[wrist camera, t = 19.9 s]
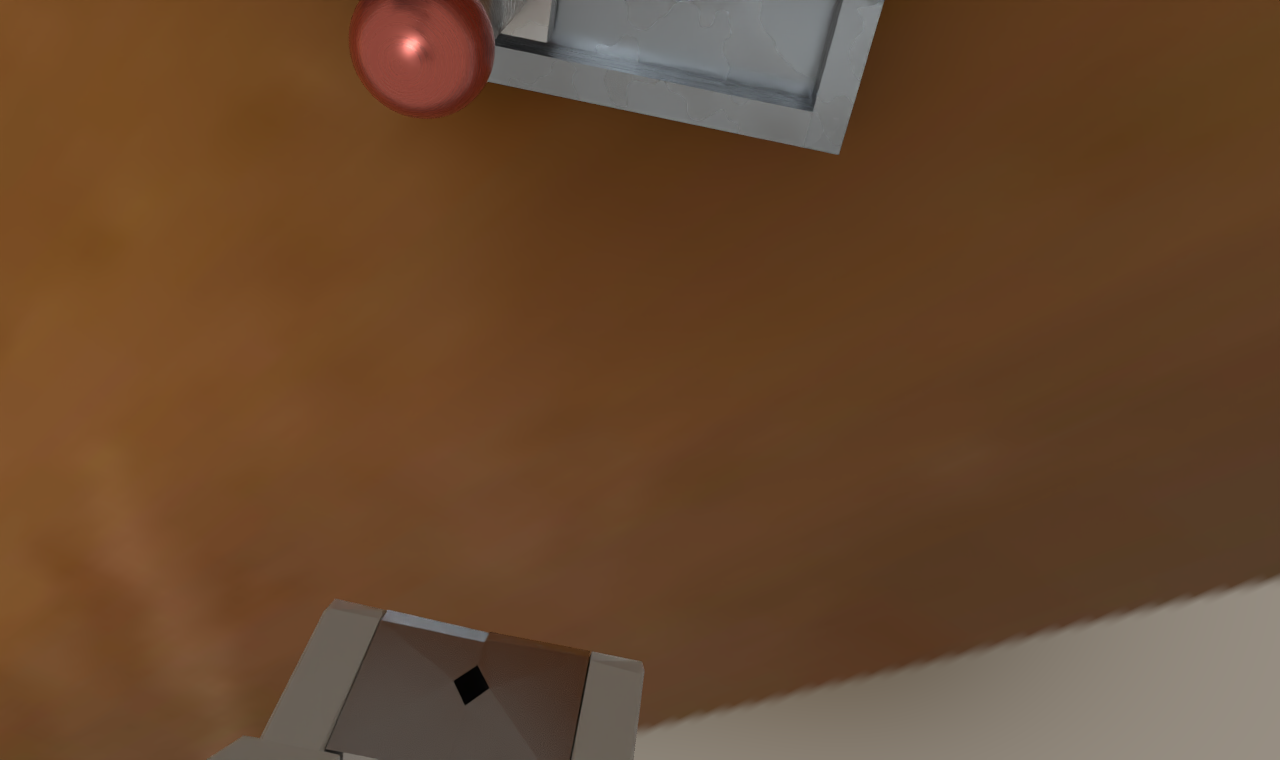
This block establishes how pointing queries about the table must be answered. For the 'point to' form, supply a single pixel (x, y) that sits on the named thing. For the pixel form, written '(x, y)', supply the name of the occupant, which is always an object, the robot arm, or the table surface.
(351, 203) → the table surface
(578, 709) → the robot arm
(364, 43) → the lever
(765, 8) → the lever rail
